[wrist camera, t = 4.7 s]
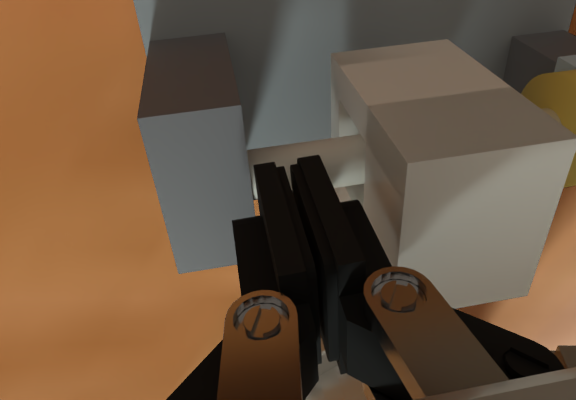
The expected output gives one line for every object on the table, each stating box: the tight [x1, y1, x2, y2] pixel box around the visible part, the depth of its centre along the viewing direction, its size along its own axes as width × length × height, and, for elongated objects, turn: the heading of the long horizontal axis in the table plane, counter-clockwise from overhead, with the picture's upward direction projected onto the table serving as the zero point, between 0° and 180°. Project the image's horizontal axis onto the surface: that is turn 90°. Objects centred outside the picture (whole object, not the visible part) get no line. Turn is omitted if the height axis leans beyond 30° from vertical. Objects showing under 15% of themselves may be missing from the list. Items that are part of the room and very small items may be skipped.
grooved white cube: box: [331, 39, 576, 309], centre depth 14 cm, size 4×5×6 cm
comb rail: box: [133, 0, 576, 274], centre depth 16 cm, size 15×8×7 cm, turn 93°
